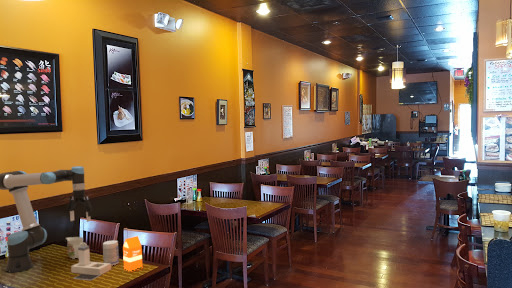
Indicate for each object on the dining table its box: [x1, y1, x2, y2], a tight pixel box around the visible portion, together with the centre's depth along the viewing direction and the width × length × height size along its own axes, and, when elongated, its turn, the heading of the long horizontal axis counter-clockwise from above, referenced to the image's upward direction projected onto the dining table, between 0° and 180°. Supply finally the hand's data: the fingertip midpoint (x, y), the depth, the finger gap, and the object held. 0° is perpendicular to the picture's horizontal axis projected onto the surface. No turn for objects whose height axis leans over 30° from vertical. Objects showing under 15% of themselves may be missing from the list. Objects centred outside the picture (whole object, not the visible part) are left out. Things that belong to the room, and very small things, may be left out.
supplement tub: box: [102, 240, 120, 267], centre depth 255 cm, size 10×10×15 cm
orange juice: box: [122, 235, 143, 272], centre depth 245 cm, size 8×9×20 cm
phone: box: [73, 273, 101, 281], centre depth 233 cm, size 7×13×1 cm, turn 72°
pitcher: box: [65, 236, 88, 260], centre depth 272 cm, size 11×18×14 cm, turn 72°
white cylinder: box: [78, 245, 91, 266], centre depth 245 cm, size 5×5×14 cm
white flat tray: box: [70, 261, 112, 276], centre depth 243 cm, size 22×10×4 cm, turn 72°
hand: (80, 221), depth 258 cm, fingers open, 13 cm apart
